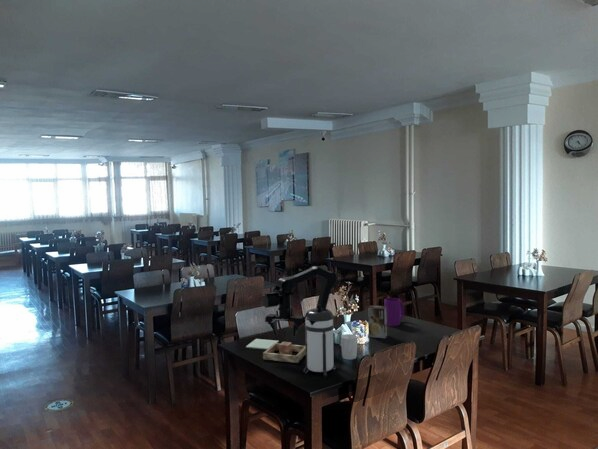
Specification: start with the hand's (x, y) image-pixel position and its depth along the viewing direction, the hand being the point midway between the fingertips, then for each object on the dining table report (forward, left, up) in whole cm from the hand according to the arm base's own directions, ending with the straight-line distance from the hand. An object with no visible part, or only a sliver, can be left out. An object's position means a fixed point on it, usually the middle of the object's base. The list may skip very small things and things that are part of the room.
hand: (285, 336), depth 228 cm
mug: (-44, -69, -10) cm, 83 cm away
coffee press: (-21, +13, -10) cm, 26 cm away
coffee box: (-38, -42, -10) cm, 57 cm away
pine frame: (0, 0, -9) cm, 9 cm away
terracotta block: (0, 0, -9) cm, 9 cm away
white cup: (-30, -6, -10) cm, 32 cm away
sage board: (+17, -12, -9) cm, 23 cm away
